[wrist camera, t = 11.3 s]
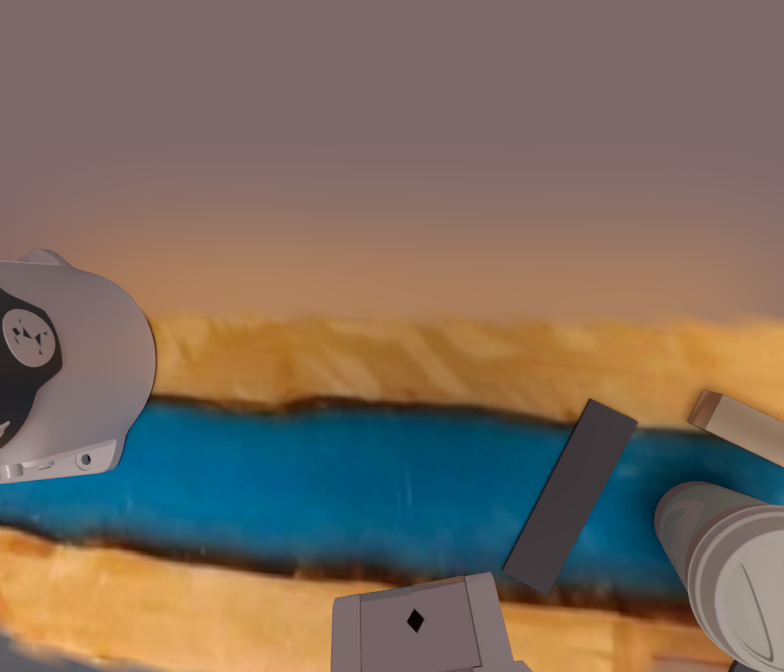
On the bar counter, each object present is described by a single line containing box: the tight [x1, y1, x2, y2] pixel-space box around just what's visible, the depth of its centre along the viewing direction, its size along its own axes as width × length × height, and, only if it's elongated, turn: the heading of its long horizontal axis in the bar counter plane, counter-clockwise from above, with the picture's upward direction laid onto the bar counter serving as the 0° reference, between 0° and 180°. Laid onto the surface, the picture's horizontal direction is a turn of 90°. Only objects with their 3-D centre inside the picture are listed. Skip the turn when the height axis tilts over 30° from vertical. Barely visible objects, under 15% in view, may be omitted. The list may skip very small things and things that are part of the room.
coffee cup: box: [654, 481, 784, 672], centre depth 33 cm, size 9×8×12 cm
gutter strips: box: [502, 399, 760, 672], centre depth 39 cm, size 14×20×1 cm
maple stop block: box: [687, 390, 784, 468], centre depth 37 cm, size 2×7×3 cm, turn 64°
